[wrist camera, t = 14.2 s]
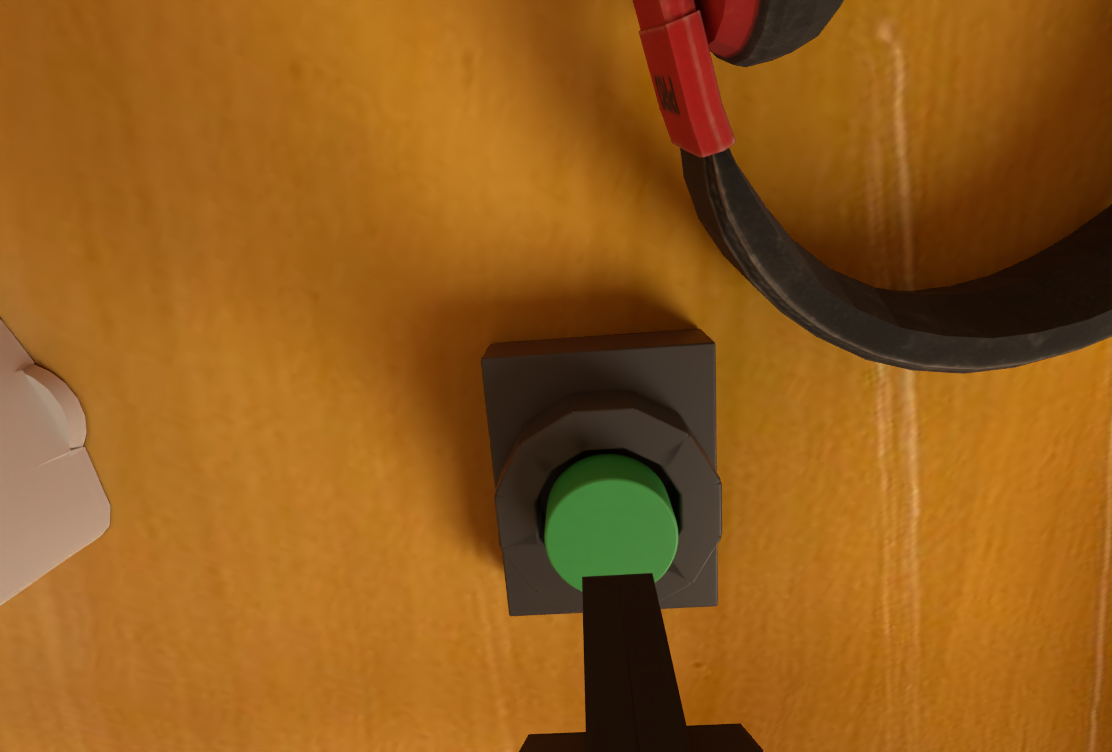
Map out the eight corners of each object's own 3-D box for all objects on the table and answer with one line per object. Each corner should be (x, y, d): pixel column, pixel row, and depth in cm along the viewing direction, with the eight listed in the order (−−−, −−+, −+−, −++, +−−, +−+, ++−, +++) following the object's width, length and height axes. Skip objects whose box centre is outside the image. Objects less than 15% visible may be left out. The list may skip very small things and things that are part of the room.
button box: (514, 579, 23) (503, 654, 19) (489, 342, 21) (470, 374, 17) (704, 569, 23) (731, 643, 19) (701, 328, 20) (730, 356, 16)
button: (551, 566, 19) (549, 601, 17) (542, 456, 18) (538, 482, 16) (670, 560, 19) (680, 595, 17) (667, 449, 18) (677, 474, 16)
